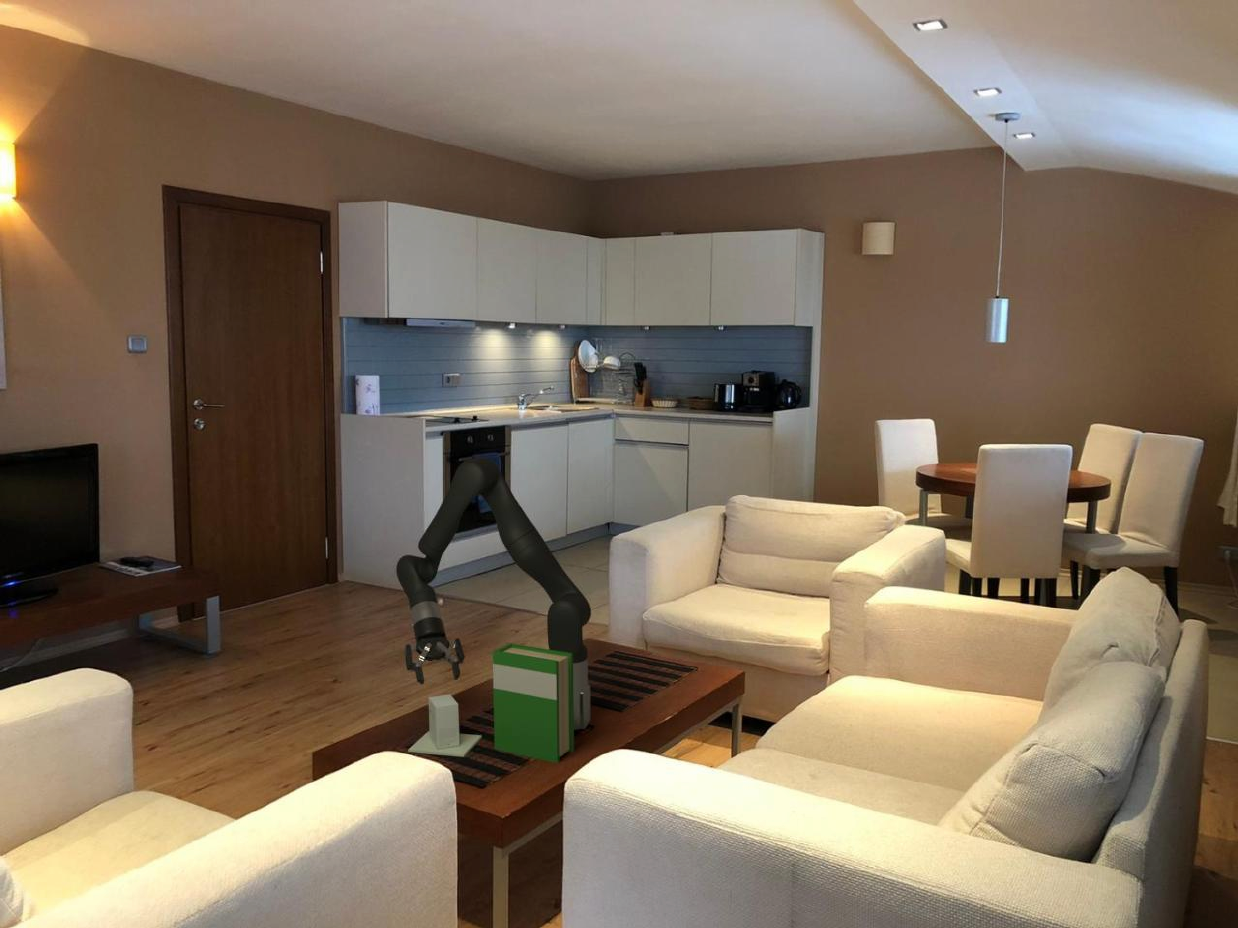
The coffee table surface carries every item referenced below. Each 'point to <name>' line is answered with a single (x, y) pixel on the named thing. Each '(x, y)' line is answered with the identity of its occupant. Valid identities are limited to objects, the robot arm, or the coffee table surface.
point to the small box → (444, 721)
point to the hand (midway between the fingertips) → (439, 680)
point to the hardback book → (533, 701)
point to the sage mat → (428, 747)
